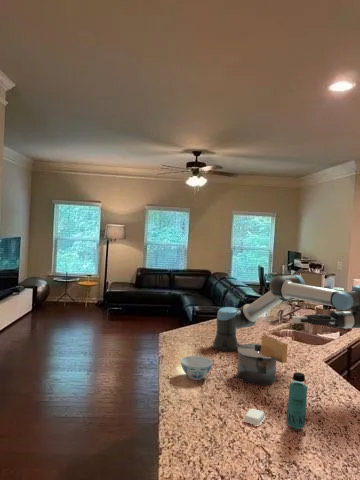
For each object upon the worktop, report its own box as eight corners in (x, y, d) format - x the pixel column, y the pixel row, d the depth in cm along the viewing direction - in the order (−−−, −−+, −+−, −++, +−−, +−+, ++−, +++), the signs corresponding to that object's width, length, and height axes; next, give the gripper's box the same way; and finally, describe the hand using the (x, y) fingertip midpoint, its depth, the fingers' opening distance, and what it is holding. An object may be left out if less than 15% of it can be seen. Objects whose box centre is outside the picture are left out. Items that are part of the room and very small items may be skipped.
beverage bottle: (283, 423, 141) (286, 370, 140) (301, 423, 141) (304, 370, 140) (290, 433, 134) (293, 377, 133) (308, 433, 135) (311, 377, 134)
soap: (249, 413, 148) (250, 406, 148) (266, 418, 145) (267, 410, 145) (241, 422, 140) (241, 415, 140) (259, 428, 137) (259, 420, 137)
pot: (235, 366, 198) (236, 343, 198) (271, 368, 197) (272, 345, 196) (240, 392, 166) (241, 365, 166) (282, 395, 165) (284, 368, 164)
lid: (230, 347, 188) (231, 329, 188) (261, 344, 197) (262, 326, 196) (266, 368, 163) (267, 346, 162) (300, 363, 171) (302, 342, 171)
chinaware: (215, 374, 185) (215, 358, 185) (207, 386, 171) (207, 369, 171) (185, 369, 190) (186, 354, 190) (175, 380, 176) (176, 363, 176)
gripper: (349, 331, 169) (299, 332, 165) (332, 324, 182) (286, 324, 178) (350, 314, 169) (300, 314, 165) (333, 308, 182) (286, 308, 177)
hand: (293, 319), depth 171 cm, fingers closed
